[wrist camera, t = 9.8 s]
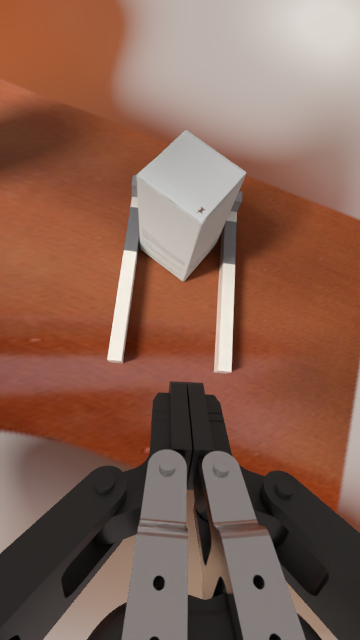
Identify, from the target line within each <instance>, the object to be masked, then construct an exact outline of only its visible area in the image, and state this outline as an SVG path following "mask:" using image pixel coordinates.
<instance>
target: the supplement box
mask: <svg viewBox="0 0 360 640" xmlns="http://www.w3.org/2000/svg"><path fill="white" fill-rule="evenodd" d="M245 176H246V172H245V171H244V170H242V169H241V168H240V167H238V166H237V165H235V164H234V163H232V162H231V161H229V160H228V159H227V158H225V157H224V156H223V155H221V154H220V153H218V152H217V151H216V150H214V149H213V148H211V147H210V146H208V145H207V144H206V143H204V142H203V141H202V140H200V139H199V138H197V137H196V136H195V135H193V134H191V133H190V132H189V131H188V130H185V131H184V132H183V133H182V134H181V135H180V136H179V137H177V138H176V139H175V140H174V141H173V142H172V143H171V144H170V145H169V146H168V147H167V148H166V149H165V150H164V151H163V152H161V153H160V154H159V155H158V156H157V157H156V158H155V159H154V160H152V161H151V162H150V163H149V164H148V165H147V166H146V167H145V168H143V169H142V170H141V171H140V172H139V173H138V174H137V175H136V180H137V196H138V215H139V235H140V249H141V250H142V251H144V252H145V253H146V254H147V255H149V256H150V257H151V258H153V259H154V260H155V261H156V262H158V263H159V264H160V265H162V266H163V267H164V268H166V269H167V270H168V271H170V272H171V273H172V274H174V275H175V276H176V277H177V278H179V279H180V280H181V281H183V282H184V281H185V280H186V279H187V278H188V276H189V275H190V274H191V273H192V272H193V271H194V269H195V268H196V267H197V266H198V265H199V264H200V262H201V261H202V260H203V259H204V258H205V257H206V256H207V254H208V253H209V252H210V251H211V250H212V249H213V247H214V246H215V245H216V243H217V241H218V238H219V236H220V234H221V232H222V229H223V227H224V225H225V222H226V220H227V218H228V215H229V213H230V211H231V209H232V206H233V204H234V202H235V199H236V197H237V194H238V192H239V190H240V187H241V185H242V183H243V181H244V178H245Z"/></svg>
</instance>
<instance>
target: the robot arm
mask: <svg viewBox="0 0 360 640" xmlns="http://www.w3.org/2000/svg"><path fill="white" fill-rule="evenodd" d="M187 490H194V499H195V501H194V505H193V514H194V522H195V528H196V535H197V542H198V549H199V555H200V562H201V571H202V599H200V598H197V597H194V596H191V595H188V530H187V528H186V491H187ZM136 534H137V537H136V545H135V551H134V558H133V564H132V571H131V578H130V585H129V592H128V599H127V602H126V603H124V604H123V605H121V606H119V607H117V608H116V609H115V610H113V611H112V612H111V613H109V614H108V615H107V616H106V617H105V618H104V619H103V620H102V621H101V622H100V624H99V625H98V626H97V627H96V628H95V629H94V630H93V632H92V633H91V635H90V636H89V637H88V639H87V640H322V639H321V638H320V637H319V636H318V634H317V633H316V632H315V631H314V629H313V628H312V627H311V626H310V625H309V624H308V623H307V622H306V621H305V620H304V619H303V618H302V617H301V616H300V615H299V614H297V613H296V610H295V607H294V604H293V601H292V598H291V595H290V592H289V589H288V586H287V584H286V581H287V583H288V584H289V585H290V586H291V587H292V588H293V589H294V590H295V592H296V593H297V594H298V595H299V596H300V597H301V598H302V599H303V601H304V602H305V603H306V604H307V605H308V606H309V607H310V608H311V610H312V611H313V612H314V613H315V614H316V615H317V616H318V617H319V618H320V620H321V621H322V622H323V623H324V624H325V625H326V626H327V628H328V629H329V630H330V631H331V632H332V633H333V634H334V635H335V637H336V638H337V639H338V640H360V533H359V532H358V531H357V530H355V529H354V528H353V527H352V526H351V525H349V524H348V523H347V522H346V521H345V520H344V519H342V518H341V517H340V516H339V515H338V514H336V513H335V512H334V511H333V510H332V509H331V508H329V507H328V506H327V505H326V504H325V503H324V502H322V501H321V500H320V499H319V498H318V497H316V496H315V495H314V494H313V493H312V492H311V491H309V490H308V489H307V488H306V487H305V486H304V485H302V484H301V483H300V482H299V481H298V480H296V479H295V478H294V477H293V476H291V475H290V474H288V473H286V472H283V471H271V472H269V473H268V474H267V475H266V476H262V475H259V474H256V473H253V472H250V471H248V470H246V469H244V468H243V467H241V466H240V465H239V464H238V462H237V461H236V460H235V458H233V456H232V453H231V449H230V445H229V440H228V436H227V432H226V427H225V423H224V418H223V415H222V409H221V405H220V403H219V401H218V400H217V399H216V397H215V396H214V395H205V392H204V386H203V383H193V382H187V383H186V382H171V381H170V385H169V393H158V394H157V395H156V397H155V398H154V400H153V408H152V422H151V439H150V454H149V456H148V458H147V460H146V461H145V462H144V463H143V464H142V465H140V466H139V467H137V468H135V469H132V470H128V471H125V472H122V471H121V470H120V469H118V468H116V467H114V466H103V467H99V468H97V469H95V470H94V471H92V472H91V473H90V474H89V475H88V476H87V477H85V478H84V479H83V480H82V481H81V482H80V483H79V484H78V485H77V486H75V487H74V488H73V489H72V490H71V491H70V492H69V493H68V494H66V495H65V496H64V497H63V498H62V499H61V500H60V501H59V502H58V503H57V504H55V505H54V506H53V507H52V508H51V509H50V510H49V511H48V512H47V513H45V514H44V515H43V516H42V517H41V518H40V519H39V520H37V521H36V522H35V523H34V524H33V525H32V526H31V527H30V528H29V529H27V530H26V531H25V532H24V533H23V534H22V535H21V536H20V537H18V538H17V539H16V540H15V541H14V542H13V543H12V544H11V545H10V546H8V547H7V548H6V549H5V550H4V551H3V552H2V553H1V554H0V640H43V639H44V637H45V636H46V635H47V634H48V632H49V631H50V630H51V629H52V627H53V626H54V625H55V624H56V623H57V621H58V620H59V619H60V618H61V616H62V615H63V613H65V611H66V610H67V609H68V608H69V606H70V605H71V604H72V603H73V602H74V600H75V599H76V598H77V597H78V595H79V594H80V593H81V591H82V590H83V589H84V588H85V587H86V585H87V584H88V583H89V582H90V580H91V579H92V578H93V577H94V576H95V574H96V573H97V572H98V571H99V569H100V568H101V567H102V566H103V564H104V563H105V562H106V560H107V559H108V558H109V557H110V556H111V555H112V553H113V552H114V551H115V550H116V548H117V547H118V546H119V545H120V543H121V542H122V540H123V539H125V538H128V537H130V536H133V535H136ZM285 580H286V581H285Z"/></svg>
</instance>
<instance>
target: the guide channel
mask: <svg viewBox="0 0 360 640" xmlns="http://www.w3.org/2000/svg"><path fill="white" fill-rule="evenodd" d="M131 188H132V200H131V207H130V213H129V220H128V226H127V233H126V240H125V246H124V253H123V259H122V266H121V273H120V279H119V286H118V292H117V299H116V305H115V312H114V319H113V325H112V332H111V338H110V345H109V352H108V358H107V360H108V361H109V362H114V363H123V359H124V352H125V345H126V337H127V330H128V323H129V315H130V308H131V301H132V293H133V286H134V279H135V271H136V264H137V257H138V249H139V242H140V235H139V215H138V196H137V180H136V175H133V177H132V184H131ZM241 203H242V191H239V192H238V194H237V197H236V199H235V202H234V204H233V206H232V209H231V211H230V213H229V215H228V218H227V220H226V222H225V225H224V227H223V229H222V232H221V245H220V265H219V284H218V304H217V324H216V343H215V363H214V372H217V373H230V372H232V343H233V315H234V286H235V257H236V228H237V211H238V209H239V207H240V205H241Z"/></svg>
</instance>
